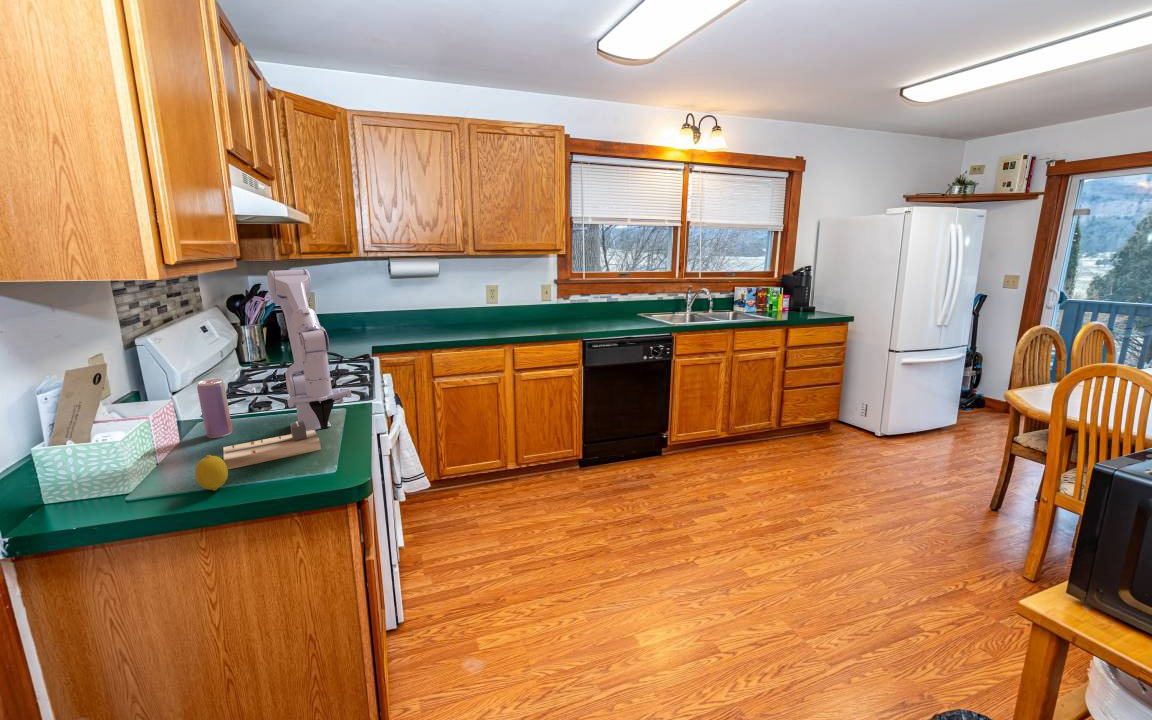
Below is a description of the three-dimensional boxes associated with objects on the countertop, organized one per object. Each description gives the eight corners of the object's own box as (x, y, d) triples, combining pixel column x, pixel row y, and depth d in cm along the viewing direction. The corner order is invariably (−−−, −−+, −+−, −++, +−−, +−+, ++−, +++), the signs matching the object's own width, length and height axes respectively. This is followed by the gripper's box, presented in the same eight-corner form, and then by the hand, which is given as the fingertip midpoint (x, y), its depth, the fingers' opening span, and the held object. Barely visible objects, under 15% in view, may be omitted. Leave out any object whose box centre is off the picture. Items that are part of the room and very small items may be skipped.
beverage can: (219, 439, 136) (209, 385, 133) (200, 438, 137) (190, 384, 134) (238, 431, 142) (229, 379, 138) (220, 429, 143) (210, 378, 140)
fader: (291, 435, 131) (289, 422, 130) (304, 433, 132) (302, 420, 131) (293, 440, 127) (291, 427, 127) (306, 437, 129) (305, 424, 128)
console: (225, 456, 125) (223, 446, 125) (315, 438, 136) (314, 429, 136) (225, 470, 118) (223, 459, 118) (320, 449, 129) (319, 439, 128)
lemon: (221, 482, 112) (215, 448, 110) (236, 487, 110) (229, 452, 108) (193, 493, 107) (186, 457, 106) (208, 499, 105) (201, 462, 103)
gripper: (286, 385, 122) (294, 439, 126) (351, 376, 130) (357, 426, 134) (283, 379, 128) (291, 430, 131) (345, 370, 136) (351, 419, 139)
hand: (324, 428), depth 133 cm, fingers closed
